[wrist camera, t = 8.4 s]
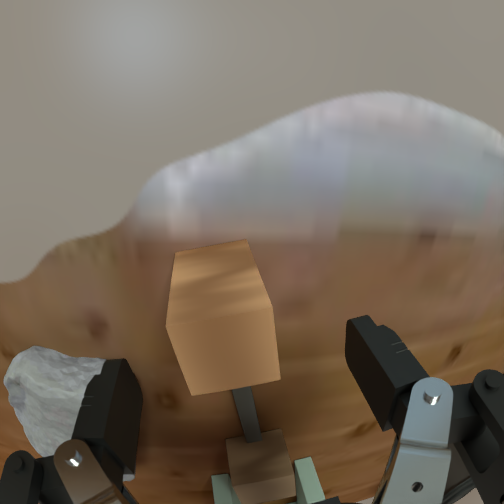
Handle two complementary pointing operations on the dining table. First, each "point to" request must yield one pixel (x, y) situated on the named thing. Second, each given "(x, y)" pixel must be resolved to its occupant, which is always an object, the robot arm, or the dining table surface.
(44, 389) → the stone block
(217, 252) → the wooden cube dumbbell
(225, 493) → the channel
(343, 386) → the dining table surface
